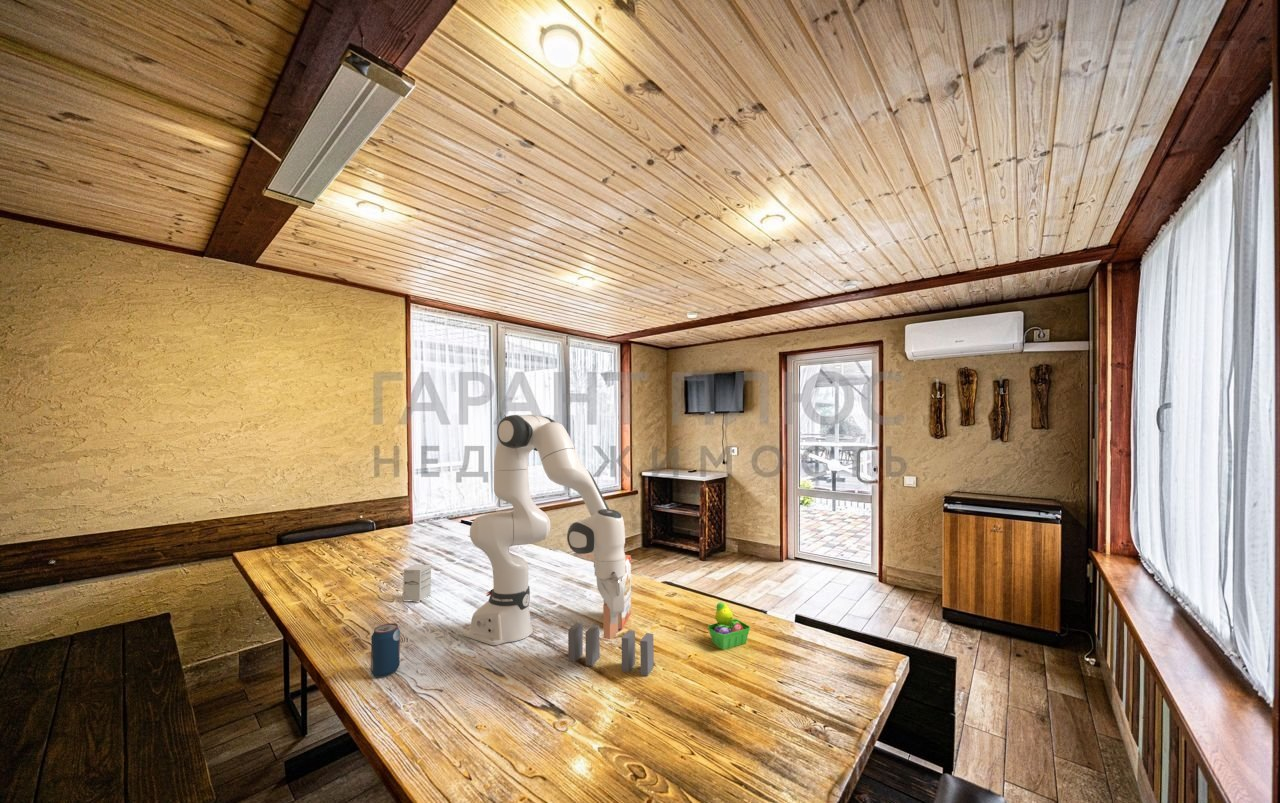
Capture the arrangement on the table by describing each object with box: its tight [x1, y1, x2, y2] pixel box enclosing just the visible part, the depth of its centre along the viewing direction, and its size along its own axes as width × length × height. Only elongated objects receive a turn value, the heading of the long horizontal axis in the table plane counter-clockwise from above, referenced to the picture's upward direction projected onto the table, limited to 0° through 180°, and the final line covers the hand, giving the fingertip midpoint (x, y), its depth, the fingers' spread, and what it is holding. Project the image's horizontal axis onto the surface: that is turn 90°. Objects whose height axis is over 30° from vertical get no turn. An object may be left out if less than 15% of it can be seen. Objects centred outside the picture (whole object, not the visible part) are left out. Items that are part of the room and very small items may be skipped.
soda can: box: [370, 622, 401, 679], centre depth 128 cm, size 7×7×12 cm
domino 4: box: [621, 629, 636, 674], centre depth 129 cm, size 2×5×9 cm, turn 160°
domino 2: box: [585, 624, 601, 667], centre depth 133 cm, size 2×5×9 cm, turn 160°
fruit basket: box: [707, 602, 751, 651], centre depth 143 cm, size 11×9×11 cm
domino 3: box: [602, 603, 619, 640], centre depth 131 cm, size 2×5×9 cm, turn 157°
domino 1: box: [567, 622, 584, 664], centre depth 135 cm, size 2×5×9 cm, turn 160°
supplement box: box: [402, 563, 432, 601], centre depth 184 cm, size 7×7×13 cm
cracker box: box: [618, 554, 632, 630], centre depth 161 cm, size 14×6×21 cm, turn 168°
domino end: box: [639, 632, 655, 677], centre depth 127 cm, size 2×5×9 cm, turn 160°
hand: (610, 618), depth 131 cm, fingers closed on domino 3, 5 cm apart
